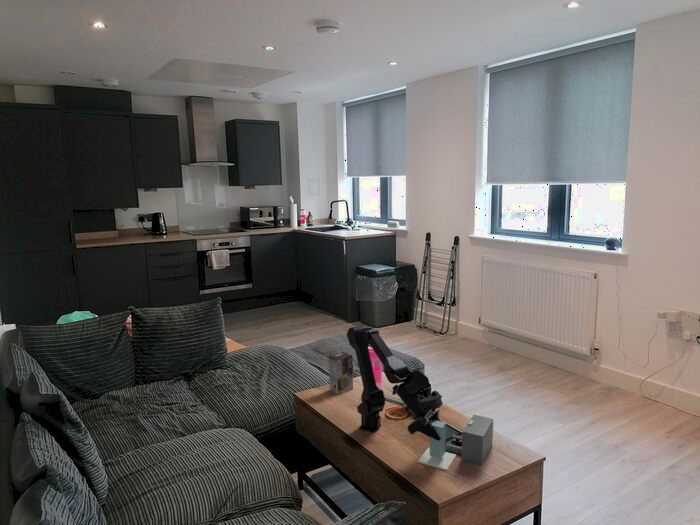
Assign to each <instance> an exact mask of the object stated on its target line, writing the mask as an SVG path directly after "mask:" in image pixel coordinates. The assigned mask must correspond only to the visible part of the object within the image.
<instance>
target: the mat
mask: <svg viewBox="0 0 700 525" xmlns="http://www.w3.org/2000/svg"><path fill="white" fill-rule="evenodd" d="M456 457H457V454H456V453H453V452H452V453H451V452H449V451H445V454H444V455H443V457H442V458H441V459H440V458H436V457H433V456H430V446H429V447H428V448H427V449H426V450H425V452H424V453H423V454H422V455H421V456H420V458H419V460H417V463H418V462H419V464H422V465H425V466H429V467H433V468H436V469H439V470H442V471H448V470H449V469H450V467H451V465H452V464H453V462H454V460H455V459H456Z"/></svg>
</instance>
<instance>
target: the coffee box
mask: <svg viewBox="0 0 700 525" xmlns="http://www.w3.org/2000/svg"><path fill="white" fill-rule="evenodd" d="M353 360H354V359H353V355H352V354H350V353H348V352H347V351H346V352H345V351H342V352H339V353H335V354H332V355H329V356H328V372H329V373H328V374H329V375H328V377H329V382H328V383H329V391H331V393H332V392H333V393H335V395H340V394H343V393H344V392H348V391H351V390H353V389H354V377H353V376H354V375H353V374H354V370H353V368H354V367H353V363H354V362H353Z"/></svg>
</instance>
